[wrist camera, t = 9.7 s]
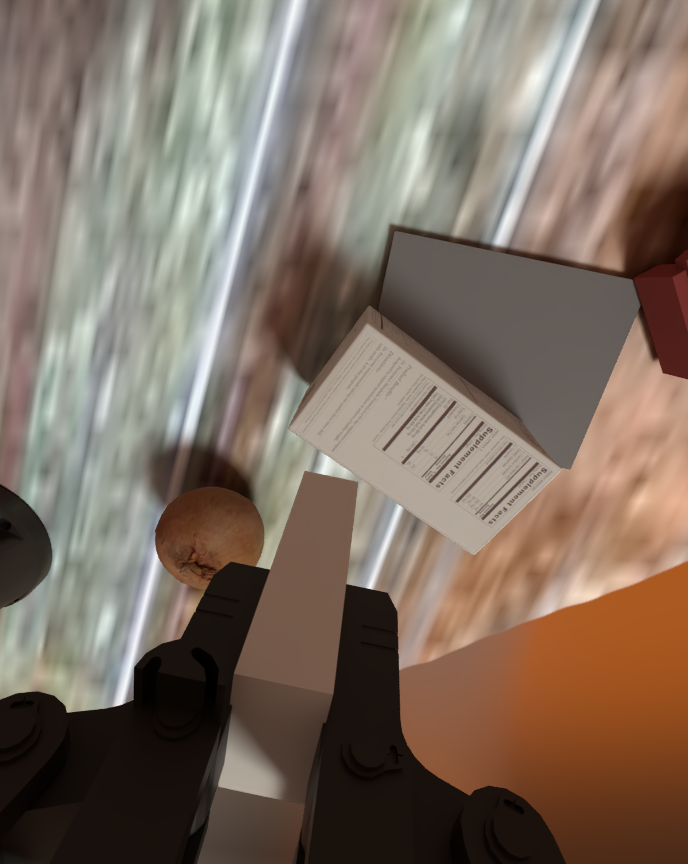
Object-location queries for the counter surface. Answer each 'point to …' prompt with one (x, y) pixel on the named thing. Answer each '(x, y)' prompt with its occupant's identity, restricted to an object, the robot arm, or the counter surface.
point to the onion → (208, 534)
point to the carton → (667, 312)
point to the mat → (514, 329)
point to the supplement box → (422, 434)
